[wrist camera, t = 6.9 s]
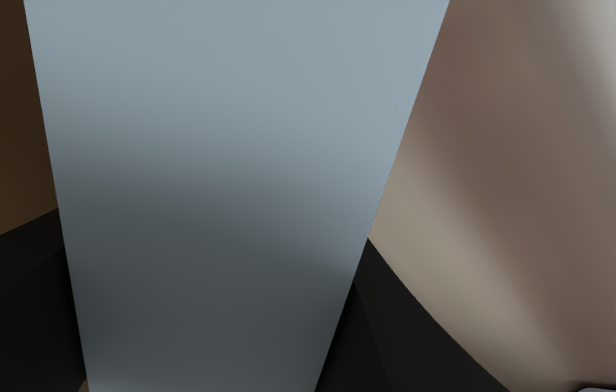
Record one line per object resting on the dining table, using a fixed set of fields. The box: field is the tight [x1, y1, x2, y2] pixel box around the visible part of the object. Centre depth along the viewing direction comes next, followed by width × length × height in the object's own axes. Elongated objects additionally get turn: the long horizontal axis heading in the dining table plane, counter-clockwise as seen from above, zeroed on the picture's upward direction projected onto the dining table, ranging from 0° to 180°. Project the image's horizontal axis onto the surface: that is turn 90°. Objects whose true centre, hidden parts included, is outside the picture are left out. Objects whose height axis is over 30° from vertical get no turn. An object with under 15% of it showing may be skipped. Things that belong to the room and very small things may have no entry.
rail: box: [24, 0, 450, 392], centre depth 8 cm, size 16×4×5 cm, turn 169°
